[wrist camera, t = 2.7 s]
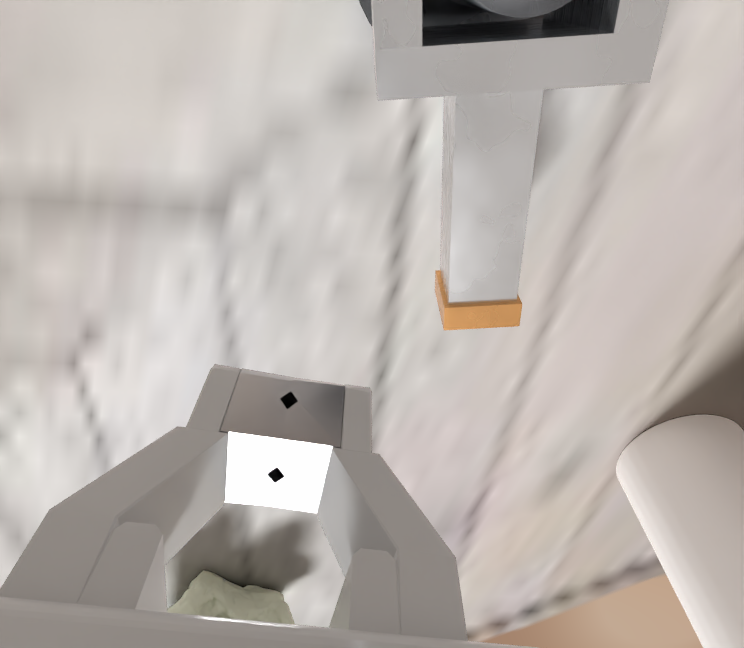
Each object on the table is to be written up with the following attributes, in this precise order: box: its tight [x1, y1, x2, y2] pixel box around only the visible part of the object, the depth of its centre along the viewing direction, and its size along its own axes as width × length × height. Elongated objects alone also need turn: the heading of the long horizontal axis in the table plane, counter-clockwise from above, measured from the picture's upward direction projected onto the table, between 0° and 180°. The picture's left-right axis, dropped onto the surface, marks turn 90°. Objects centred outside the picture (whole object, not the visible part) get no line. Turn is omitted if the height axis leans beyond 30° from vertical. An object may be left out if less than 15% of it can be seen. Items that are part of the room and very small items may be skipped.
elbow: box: [371, 0, 669, 330], centre depth 19 cm, size 18×8×7 cm, turn 3°
